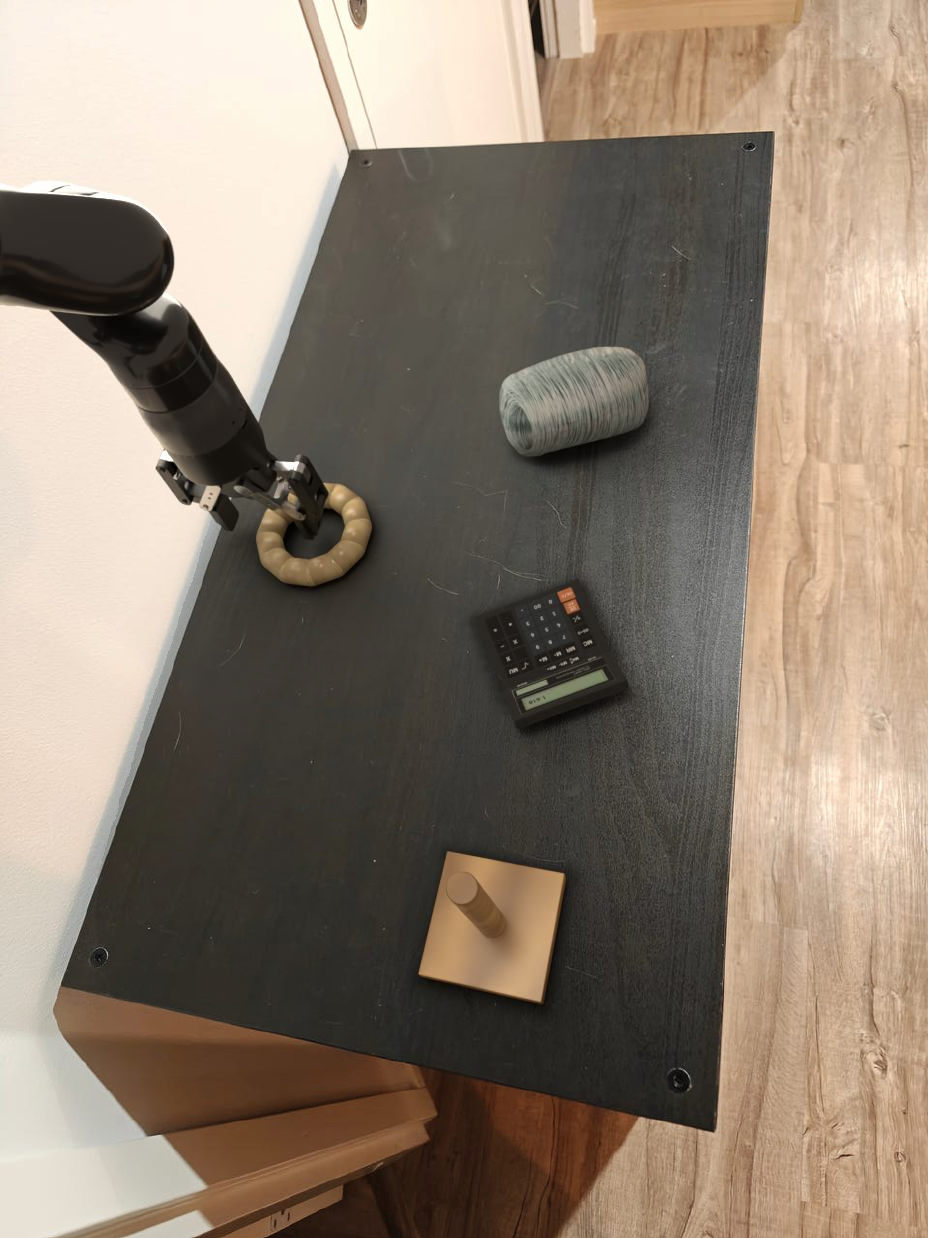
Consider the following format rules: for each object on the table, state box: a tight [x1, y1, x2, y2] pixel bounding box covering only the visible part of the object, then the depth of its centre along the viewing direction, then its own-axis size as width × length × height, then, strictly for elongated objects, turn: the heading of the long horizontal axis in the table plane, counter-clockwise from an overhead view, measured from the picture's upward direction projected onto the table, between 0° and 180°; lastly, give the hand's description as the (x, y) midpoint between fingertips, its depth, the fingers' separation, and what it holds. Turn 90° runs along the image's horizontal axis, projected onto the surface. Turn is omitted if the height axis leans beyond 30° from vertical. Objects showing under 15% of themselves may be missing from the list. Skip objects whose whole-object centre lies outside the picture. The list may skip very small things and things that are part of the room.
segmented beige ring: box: [255, 482, 373, 587], centre depth 88 cm, size 11×11×2 cm
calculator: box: [475, 578, 630, 730], centre depth 77 cm, size 9×12×3 cm
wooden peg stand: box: [418, 850, 567, 1006], centre depth 64 cm, size 9×9×14 cm
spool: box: [498, 345, 650, 458], centre depth 86 cm, size 14×10×10 cm
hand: (272, 527), depth 89 cm, fingers open, 8 cm apart
